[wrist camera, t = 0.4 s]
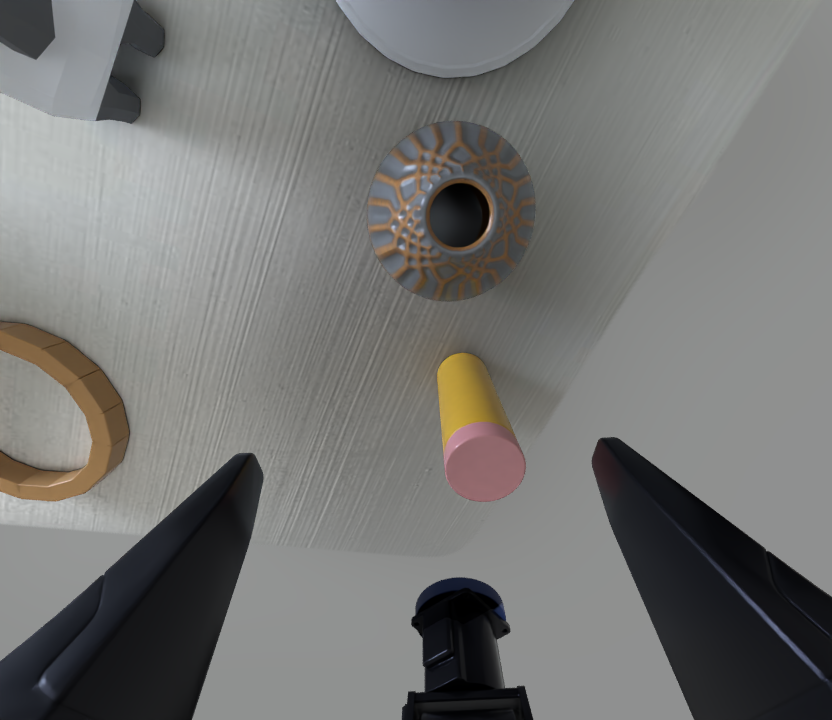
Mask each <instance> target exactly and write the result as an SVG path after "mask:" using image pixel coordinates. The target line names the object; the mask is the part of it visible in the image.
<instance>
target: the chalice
mask: <svg viewBox="0 0 832 720" xmlns="http://www.w3.org/2000/svg"><path fill="white" fill-rule="evenodd" d="M336 1H337V3H338V5H339V7H340V8H341V9H342V11H343V12H344V13H345V15H346V16H347V17H348V19H349V20H350V21H351V23H352V24H353V25H354V27H355V28H356V29H357V31H358V32H359V33H360V35H361V36H362V37H364V38H365V39H366V40H367V41H368V42H369V43H371V44H372V45H373V46H374V47H375V48H376V49H377V50H379V51H380V52H381V53H382V54H383V55H384V56H385V57H387V58H389V59H391V60H393V61H395V62H397V63H399V64H401V65H403V66H404V67H406V68H408V69H410V70H412V71H414V72H419V73H423V74H428V75H433V76H437V77H442V78H451V77H467V76H476V75H479V74H482V73H485V72H488V71H491V70H494V69H497V68H500V67H503V66H505V65H507V64H508V63H510V62H511V61H513V60H515V59H516V58H518V57H519V56H521V55H523V54H524V53H526V52H527V51H529V50H531V49H532V48H533V47H534V46H535V45H536V44H538V43H539V42H540V41H541V40H542V39H543V38H544V37H545V36H546V35H547V34H548V33H549V32H550V31H551V30H552V29H553V28H554V27H555V26H556V25H557V24H558V23H559V22H560V20H561V19H562V18H563V16H564V15H565V13H566V12H567V10H568V9H569V7H570V6H571V4H572V3H573V2H574V0H336Z"/></svg>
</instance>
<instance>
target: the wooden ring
mask: <svg viewBox="0 0 832 720" xmlns="http://www.w3.org/2000/svg"><path fill="white" fill-rule="evenodd" d="M0 350H2V351H4V352H7V353H9V354H11V355H14V356H16V357H19V358H21V359H24V360H26V361H28V362H31V363H33V364H36V365H37V366H38V367H40V368H41V369H42V370H43V371H45V372H46V373H47V374H49V375H50V376H51V377H52V378H54V379H55V380H56V381H58V382H59V383H60V384H61V385H63V386H64V387H65V388H66V389H67V391H68V392H69V393H70V395H71V396H72V398H73V399H74V400H75V402H76V403H77V405H78V406H79V407H80V409H81V410H82V412H83V413H84V414H85V416H86V420H87V423H88V427H89V430H90V434H91V438H92V441H93V442H92V446H91V451H90V456H89V460H88V464H87V465H86V466H85V467H84V468H82V469H79V470H75V471H72V472H69V473H68V472H54V471H41V470H38V469H35V468H33V467H30V466H27V465H25V464H22V463H19V462H17V461H14V460H12V459H10V458H9V457H8V456H6V455H5V454H3V453H2V452H0V492H3V493H6V494H9V495H12V496H14V497H17V498H21V499H29V500H42V501H59V500H63V499H66V498H70V497H73V496H77V495H80V494H84V493H86V492H88V491H89V490H90V489H92V488H93V487H94V486H95V485H97V484H98V483H99V482H100V481H102V480H103V479H104V478H105V477H106V476H107V475H108V474H109V473H110V472H111V471H113V470H114V469H115V468H116V467H117V466H118V465H119V464H120V463H121V462H122V460H123V458H124V454H125V450H126V446H127V442H128V438H129V428H128V424H127V420H126V415H125V411H124V407H123V403H122V400H121V398H120V397H119V395H118V394H117V393H116V391H115V390H114V388H113V387H112V385H111V384H110V382H109V381H108V379H107V378H106V376H105V375H104V373H103V372H102V370H99V369H100V368H99V367H98V366H96V365H95V364H94V363H93V362H92V361H90V360H89V359H88V358H87V357H85V356H84V355H83V354H82V353H81V352H79V351H78V350H77V349H76V348H74V347H73V346H72V345H71V344H70V343H68V342H66V341H65V340H63V339H61V338H58V337H56V336H54V335H51V334H49V333H47V332H44V331H42V330H40V329H37V328H35V327H32V326H30V325H28V324H22V323H9V322H0Z"/></svg>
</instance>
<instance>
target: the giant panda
mask: <svg viewBox="0 0 832 720" xmlns="http://www.w3.org/2000/svg"><path fill="white" fill-rule="evenodd" d="M120 44H130V45H131V46H133V47H134V48H136V49H138V50H140V51H142V52H144V53H146V54H148V55H150V56H152V57H155V56H156V55H157V54H158V53H159V51H160V50H161V49H162V48H163V44H164V29H163V28H162V27H161V26H160V25H159V24H158V23H157V22H156V21H155V20H154V19H153V18H152V17H151V16H150V15H149V14H148V13H146V12H145V11H143V10H142V9H141V7H140V6H139V4H138V3H137V1H136V0H0V92H1V93H3V94H5V95H7V96H9V97H12V98H14V99H16V100H18V101H21V102H23V103H25V104H27V105H29V106H32V107H34V108H36V109H38V110H40V111H43V112H45V113H47V114H49V115H52V116H56V117H64V118H72V119H80V120H90V121H99V120H108V119H110V120H117V121H123V122H127V123H130V124H132V122H133V121H134V120H135V119H136V118H137V117H138V116H139V114H140V98H138V97H137V96H136V95H135V94H134V93H133V92H132V91H131V90H130V89H129V88H128V87H127V86H126V85H125V84H124V83H122V82H121V81H119V80H117V79H116V78H114V77H113V76H111V75H110V74H111V71H112V67H113V64H114V61H115V58H116V55H117V52H118V49H119V45H120Z"/></svg>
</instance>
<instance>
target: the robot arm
mask: <svg viewBox="0 0 832 720" xmlns="http://www.w3.org/2000/svg"><path fill="white" fill-rule="evenodd" d="M592 468H593V471H594V474H595V477H596V480H597V484H598V487H599V490H600V494H601V497H602V500H603V503H604V506H605V510H606V513H607V516H608V519H609V522H610V525H611V527H612V530H613V532H614V535H615V537H616V539H617V542H618V544H619V546H620V549H621V551H622V553H623V556H624V558H625V560H626V562H627V565H628V567H629V570H630V572H631V574H632V577H633V579H634V581H635V583H636V586H637V588H638V590H639V593H640V595H641V597H642V600H643V602H644V604H645V606H646V609H647V611H648V613H649V616H650V618H651V621H652V623H653V625H654V628H655V630H656V632H657V634H658V637H659V639H660V642H661V644H662V646H663V648H664V651H665V653H666V655H667V657H668V660H669V662H670V665H671V667H672V669H673V672H674V674H675V676H676V679H677V681H678V683H679V686H680V688H681V690H682V693H683V695H684V697H685V700H686V702H687V704H688V706H689V709H690V711H691V713H692V716H693V718H694V720H832V597H831V596H830V595H829V594H827V593H826V592H824V591H823V590H821V589H820V588H818V587H817V586H816V585H814V584H813V583H812V582H810V581H809V580H807V579H806V578H805V577H803V576H802V575H801V574H799V573H798V572H796V571H795V570H794V569H792V568H791V567H790V566H788V565H787V564H786V563H784V562H783V561H781V560H780V559H779V558H778V557H776V556H775V555H774V554H772V553H771V552H769V551H766V549H765V548H764V547H763V546H761V545H760V544H759V543H757V542H756V541H755V540H753V539H752V538H751V537H749V536H748V535H747V534H745V533H744V532H743V531H741V530H740V529H739V528H737V527H736V526H735V525H733V524H732V523H731V522H729V521H728V520H726V519H725V518H724V517H723V516H721V515H720V514H719V513H717V512H716V511H715V510H713V509H712V508H711V507H709V506H708V505H707V504H705V503H704V502H703V501H701V500H700V499H699V498H697V497H696V496H695V495H693V494H692V493H691V492H689V491H688V490H687V489H685V488H684V487H682V486H681V485H680V484H679V483H677V482H676V481H675V480H673V479H672V478H670V477H669V476H668V475H667V474H665V473H664V472H662V471H661V470H660V469H658V468H657V467H656V466H654V465H653V464H651V463H650V462H649V461H648V460H646V459H645V458H644V457H643V456H641V455H640V454H638V453H637V452H636V451H634V450H633V449H632V448H630V447H629V446H628V445H626V444H625V443H624V442H622V441H621V440H620V439H618V438H615V437H611V438H600V439H599V440H598V442H597V446H596V448H595V451H594V454H593V457H592ZM262 484H263V472H262V469H261V467H260V465H259V463H258V461H257V458H256V456H255V455H254V454H253V453H239V454H236V455H235V456H233V457H232V458H231V459H230V460H229V461H228V462H227V463H226V464H224V465H223V466H222V467H221V468H220V469H219V470H218V471H217V472H216V473H215V474H213V475H212V476H211V477H210V478H209V479H208V480H207V481H206V482H205V483H203V484H202V485H201V486H200V487H199V488H198V489H197V490H196V491H195V492H193V493H192V494H191V495H190V496H189V497H188V498H187V499H186V500H185V501H183V502H182V503H181V504H180V505H179V506H178V507H177V508H176V509H175V510H173V511H172V512H171V513H170V514H169V515H168V516H167V517H166V518H165V519H163V520H162V521H161V522H160V523H159V524H158V525H157V526H156V527H155V528H153V529H152V530H151V531H150V532H149V533H148V534H147V535H146V536H145V537H144V538H142V539H141V540H140V541H139V542H138V543H137V544H136V545H135V546H134V547H132V548H131V549H130V550H129V551H128V552H127V553H126V554H125V555H124V556H122V557H121V558H120V559H119V560H118V561H117V562H116V563H115V564H114V565H112V566H111V567H110V568H109V569H108V570H107V571H106V572H105V574H104V575H102V576H100V577H99V578H98V579H97V580H96V581H95V582H94V583H92V584H91V585H90V586H89V587H88V588H87V589H86V590H85V591H83V592H82V593H81V594H80V595H79V596H78V597H77V598H75V599H74V600H73V601H72V602H71V603H70V604H69V605H67V607H65V608H64V609H63V610H62V611H61V612H60V613H58V614H57V615H56V616H55V617H54V618H53V619H51V620H50V621H49V622H48V623H46V624H45V625H44V626H43V627H41V628H40V629H39V630H38V631H37V632H35V633H34V634H33V635H32V636H31V637H30V638H28V639H27V640H26V641H25V642H23V643H22V644H21V645H20V646H18V647H17V648H16V649H15V650H13V651H12V652H11V653H10V654H9V655H7V656H6V657H5V658H4V659H2V660H1V661H0V720H192V718H193V715H194V712H195V709H196V705H197V702H198V699H199V696H200V693H201V690H202V687H203V684H204V681H205V678H206V675H207V671H208V669H209V665H210V662H211V659H212V656H213V653H214V650H215V647H216V644H217V641H218V638H219V635H220V632H221V629H222V626H223V622H224V620H225V616H226V613H227V610H228V607H229V604H230V601H231V598H232V595H233V592H234V589H235V586H236V583H237V579H238V576H239V573H240V570H241V567H242V564H243V561H244V558H245V555H246V552H247V549H248V546H249V542H250V539H251V535H252V531H253V527H254V522H255V517H256V513H257V508H258V503H259V498H260V494H261V489H262ZM411 625H412V627H414V628H415V629H416V630H417V631H418V632H420V633H421V634H422V635H423V666H424V667H425V692H420V693H416V692H415V691H410V692H408V700H407V704H405V706H404V707H403V708H402V720H533V717H532V713H531V709H530V706H529V702H528V698H527V694H526V690H525V686H517V688H505V685H504V679H503V674H502V668H501V662H500V657H499V650H498V645H497V639H499V638H501V637H503V636H504V635H507V634H508V633H510V626H509V624H508V623H507V622H506V621H505V620H504V619H503V618H502V617H501V616H499V615H498V614H497V613H496V612H495V611H494V610H493V609H492V608H491V607H490V606H488V605H487V604H486V603H485V602H484V601H483V600H482V599H481V598H480V597H479V596H477V595H476V594H475V593H474V592H473V591H472V590H471V589H469V588H462V589H460V590H459V591H457V592H455V593H453V594H452V595H450V596H448V597H446V598H445V599H443V600H441V601H440V602H438V603H436V604H434V605H433V606H431V607H429V608H427V609H426V610H424V611H422V612H420V613H419V614H417V615H415V616H413V617H412V619H411Z"/></svg>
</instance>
